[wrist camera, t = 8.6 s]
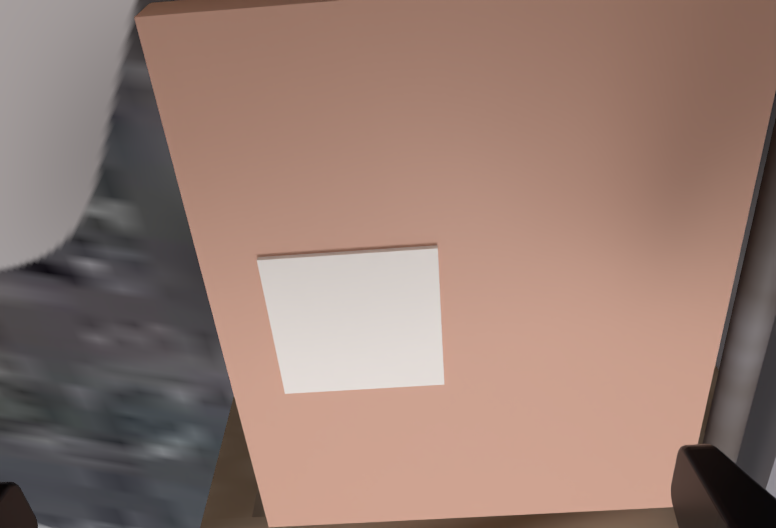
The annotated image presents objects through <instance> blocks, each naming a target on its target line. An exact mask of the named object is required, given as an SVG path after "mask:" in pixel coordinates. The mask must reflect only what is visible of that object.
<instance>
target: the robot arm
mask: <svg viewBox="0 0 776 528" xmlns="http://www.w3.org/2000/svg"><path fill="white" fill-rule="evenodd" d="M671 500H672V505H673V509H674V513H675V516H676V520H677V524H678V528H776V498H775V497H774V496H773V495H772V494H770V493H769V492H768V491H767V490H766V489H765V488H763V487H762V486H761V485H760V484H759V483H758V482H756V481H755V480H754V479H753V478H752V477H751V476H749V475H748V474H747V473H746V472H745V471H744V470H743V469H741V468H740V467H739V466H738V465H737V464H736V463H734V462H733V461H732V460H731V459H730V458H729V457H727V456H726V455H725V454H724V453H723V452H722V451H720V450H719V449H718V448H717V447H715V446H713V445H711V444H694V445H684V446H682V447H680V449H679V450H678V453H677V458H676V463H675V468H674V472H673V477H672V482H671ZM0 528H38V524H37V519H36V517H35V515H34V513H33V511H32V509H31V507H30V505H29V504H28V502H27V500H26V498H25V496H24V494H23V492H22V490H21V488H20V487H19V486H18V485H17V484H15V483H14V482H0Z"/></svg>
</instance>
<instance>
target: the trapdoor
mask: <svg viewBox="0 0 776 528" xmlns="http://www.w3.org/2000/svg"><path fill="white" fill-rule="evenodd" d="M134 18H135V22H136V26H137V30H138V34H139V37H140V41H141V45H142V49H143V52H144V56H145V60H146V64H147V68H148V71H149V75H150V79H151V83H152V87H153V90H154V94H155V98H156V102H157V106H158V109H159V113H160V117H161V121H162V124H163V128H164V132H165V136H166V140H167V143H168V147H169V151H170V155H171V159H172V162H173V166H174V170H175V174H176V178H177V181H178V185H179V189H180V193H181V196H182V200H183V204H184V208H185V212H186V215H187V219H188V223H189V227H190V231H191V234H192V238H193V242H194V246H195V249H196V253H197V257H198V261H199V265H200V268H201V272H202V276H203V280H204V284H205V287H206V291H207V295H208V299H209V303H210V306H211V310H212V314H213V318H214V321H215V325H216V329H217V333H218V337H219V340H220V344H221V348H222V352H223V356H224V359H225V363H226V367H227V371H228V375H229V378H230V382H231V386H232V390H233V393H234V397H235V401H236V405H237V409H238V412H239V416H240V420H241V424H242V428H243V431H244V435H245V439H246V443H247V447H248V450H249V454H250V458H251V462H252V465H253V469H254V473H255V477H256V481H257V484H258V488H259V492H260V496H261V500H262V503H263V507H264V511H265V515H266V519H267V522H268V526H269V527H286V526H306V525H326V524H346V523H366V522H386V521H406V520H426V519H446V518H466V517H486V516H506V515H526V514H546V513H566V512H586V511H606V510H626V509H646V508H666V507H673V505H672V500H671V482H672V477H673V472H674V468H675V463H676V458H677V453H678V450H679V449H680V447H682V446H684V445H694V444H698V440H699V436H700V431H701V427H702V422H703V418H704V413H705V409H706V404H707V400H708V395H709V391H710V386H711V382H712V377H713V372H714V368H715V363H716V359H717V354H718V350H719V345H720V341H721V336H722V332H723V327H724V323H725V318H726V314H727V309H728V304H729V300H730V295H731V291H732V286H733V282H734V277H735V273H736V268H737V264H738V259H739V255H740V250H741V246H742V241H743V236H744V232H745V227H746V223H747V218H748V214H749V209H750V205H751V200H752V196H753V191H754V187H755V182H756V178H757V173H758V168H759V164H760V159H761V155H762V150H763V146H764V141H765V137H766V132H767V128H768V123H769V119H770V114H771V110H772V105H773V100H774V96H775V91H776V0H181V1H168V2H156V3H150V4H149V5H147V6H146V7H145V8H144V9H143V10H142V11H141V12H140V13H138V14H137V15H136V16H135V17H134ZM736 464H737V465H738V466H739V467H740V468H741V469H743V470H744V471H745V472H746V473H747V474H748V475H749V476H751V477H752V478H753V479H754V480H755V481H756V482H758V483H759V484H760V485H761V486H762V487H763V488H765V489H766V490H767V491H768V492H769V493H770V494H772V495H773V496H774V497H775V498H776V316H775V319H774V323H773V327H772V330H771V334H770V338H769V342H768V345H767V349H766V353H765V357H764V360H763V364H762V368H761V372H760V375H759V379H758V383H757V387H756V390H755V394H754V398H753V402H752V405H751V409H750V413H749V417H748V420H747V424H746V428H745V432H744V435H743V439H742V443H741V446H740V450H739V454H738V458H737V461H736Z"/></svg>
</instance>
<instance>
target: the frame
mask: <svg viewBox="0 0 776 528" xmlns="http://www.w3.org/2000/svg"><path fill="white" fill-rule="evenodd" d="M775 316H776V120H775V124H774V128H773V133H772V137H771V142H770V146H769V151H768V155H767V159H766V164H765V168H764V173H763V177H762V182H761V186H760V190H759V195H758V199H757V204H756V208H755V213H754V217H753V222H752V226H751V230H750V235H749V239H748V244H747V248H746V253H745V257H744V261H743V266H742V270H741V275H740V279H739V284H738V288H737V292H736V297H735V301H734V306H733V310H732V315H731V319H730V323H729V328H728V332H727V337H726V341H725V346H724V350H723V355H722V359H721V363H720V368H719V371H718V369H717V367H716V365H715V368H714V372H713V377H712V382H711V386H710V391H709V395H708V400H707V404H706V409H705V413H704V418H703V422H702V427H701V431H700V436H699V440H698V444H711V445H713V446H715V447H717V448H718V449H719V450H720V451H722V452H723V453H724V454H725V455H726V456H727V457H729V458H730V459H731V460H732V461H733V462H734V463H736V461H737V458H738V454H739V450H740V446H741V443H742V439H743V435H744V432H745V428H746V424H747V420H748V417H749V413H750V409H751V405H752V402H753V398H754V394H755V390H756V387H757V383H758V379H759V375H760V372H761V368H762V364H763V360H764V357H765V353H766V349H767V345H768V342H769V338H770V334H771V330H772V327H773V323H774V319H775ZM200 528H678V524H677V520H676V516H675V513H674V509H673V507H666V508H646V509H626V510H606V511H586V512H566V513H546V514H526V515H506V516H486V517H466V518H446V519H426V520H406V521H386V522H366V523H346V524H326V525H306V526H286V527H269V526H268V522H267V519H266V515H265V511H264V507H263V503H262V500H261V496H260V492H259V488H258V484H257V481H256V477H255V473H254V469H253V465H252V462H251V458H250V454H249V450H248V447H247V443H246V439H245V435H244V431H243V428H242V424H241V420H240V416H239V412H238V409H237V405H236V401H235V397H234V398H233V402H232V406H231V410H230V413H229V417H228V421H227V425H226V429H225V433H224V437H223V441H222V445H221V449H220V453H219V457H218V460H217V464H216V468H215V472H214V476H213V480H212V484H211V488H210V492H209V496H208V500H207V504H206V507H205V511H204V515H203V519H202V523H201V527H200Z"/></svg>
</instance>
